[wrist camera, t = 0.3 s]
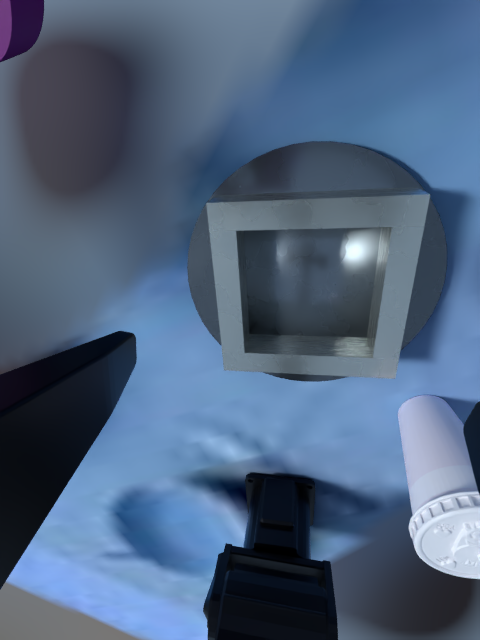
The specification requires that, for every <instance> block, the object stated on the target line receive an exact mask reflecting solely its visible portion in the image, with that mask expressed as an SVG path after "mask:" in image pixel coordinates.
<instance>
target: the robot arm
mask: <svg viewBox="0 0 480 640" xmlns="http://www.w3.org/2000/svg"><path fill="white" fill-rule="evenodd" d="M136 358H137V357H136V337H135V335H134V334H133V333H129V332H124V331H118V332H115V333H112V334H109V335H107V336H104V337H101V338H99V339H96V340H93V341H90V342H88V343H85V344H82V345H79V346H77V347H74V348H71V349H68V350H66V351H63V352H60V353H58V354H55V355H52V356H49V357H47V358H44V359H41V360H38V361H36V362H33V363H30V364H27V365H25V366H22V367H19V368H16V369H14V370H11V371H8V372H6V373H3V374H0V589H1V588H2V586H3V584H4V583H5V581H6V580H7V578H8V577H9V575H10V574H11V572H12V570H13V569H14V567H15V566H16V564H17V562H18V561H19V559H20V558H21V556H22V555H23V553H24V551H25V550H26V548H27V547H28V545H29V544H30V542H31V540H32V539H33V537H34V536H35V534H36V533H37V531H38V529H39V528H40V526H41V525H42V523H43V521H44V520H45V518H46V517H47V515H48V514H49V512H50V510H51V509H52V507H53V506H54V504H55V503H56V501H57V499H58V498H59V496H60V495H61V493H62V491H63V490H64V488H65V487H66V485H67V484H68V482H69V480H70V479H71V477H72V476H73V474H74V473H75V471H76V469H77V468H78V466H79V465H80V463H81V462H82V460H83V458H84V457H85V455H86V454H87V452H88V450H89V449H90V447H91V446H92V444H93V443H94V441H95V439H96V438H97V436H98V435H99V433H100V432H101V430H102V428H103V427H104V425H105V424H106V422H107V421H108V419H109V417H110V416H111V414H112V412H113V410H114V408H115V406H116V404H117V402H118V400H119V398H120V396H121V394H122V392H123V390H124V388H125V386H126V384H127V382H128V380H129V378H130V375H131V373H132V371H133V369H134V367H135V364H136ZM463 433H464V438H465V442H466V446H467V450H468V454H469V458H470V462H471V466H472V470H473V474H474V478H475V482H476V485H477V489H478V492H479V495H480V402H478V403H477V404H476V405H475V407H474V409H473V410H472V412H471V414H470V415H469V417H468V419H467V420H466V422H465V424H464V427H463ZM245 483H246V494H247V506H248V520H247V527H246V534H245V541H244V548H242V547H236V546H232V544H226V545H225V549H224V552H223V553H220V554H219V555H218V560H217V564H216V569H215V574H214V577H213V580H212V583H211V586H210V589H209V592H208V594H207V597H206V600H205V603H204V608H203V612H204V614H205V616H206V618H207V620H208V622H207V627H208V640H338V629H337V614H336V605H335V597H334V589H333V581H332V572H331V564H330V561H324V560H323V561H317V560H311V554H310V526H311V525H313V516H314V500H315V482H314V481H312V480H306V479H296V478H286V477H277V476H267V475H257V474H247V475H246V479H245Z"/></svg>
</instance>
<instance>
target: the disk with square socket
mask: <svg viewBox="0 0 480 640" xmlns="http://www.w3.org/2000/svg"><path fill="white" fill-rule="evenodd" d="M187 268H188V280H189V286H190V291H191V295H192V299H193V301H194V304H195V307H196V310H197V312H198V314H199V316H200V318H201V320H202V322H203V323H204V325H205V326H206V328H207V329H208V331H209V332H210V333H211V335H212V336H213V337H214V338H215V339H216V340H217V342H218V343H219V344H220V345H221V346H222V354H223V364H224V370H229V371H249V372H263V373H266V374H269V375H273V376H276V377H280V378H284V379H289V380H297V381H328V380H336V379H340V378H345V377H349V376H350V377H370V378H390V379H395V377H396V371H397V366H398V361H399V356H400V351H401V350H402V349H403V348H404V347H405V346H406V345H407V344H408V343H409V342H411V341H412V340H413V339H414V338H415V336H416V335H417V334H418V333H419V332H420V330H421V329H422V328H423V327H424V325H425V324H426V322H427V321H428V319H429V318H430V316H431V315H432V313H433V311H434V309H435V307H436V305H437V302H438V300H439V298H440V295H441V292H442V288H443V285H444V281H445V275H446V269H447V245H446V239H445V232H444V229H443V226H442V223H441V219H440V216H439V214H438V212H437V210H436V208H435V206H434V204H433V202H432V200H431V198H430V194H429V193H427V192H425V190H424V189H423V188H422V186H421V185H420V184H419V183H418V182H417V181H416V180H415V179H414V178H413V177H412V176H411V175H410V174H409V173H408V172H407V171H406V170H405V169H403V168H402V167H400V166H399V165H397V164H396V163H395V162H393V161H392V160H390V159H388V158H386V157H384V156H382V155H380V154H378V153H376V152H374V151H372V150H368V149H365V148H362V147H359V146H355V145H352V144H346V143H339V142H332V141H312V142H305V143H298V144H292V145H288V146H285V147H282V148H278V149H275V150H272V151H270V152H268V153H266V154H263V155H261V156H259V157H257V158H255V159H253V160H252V161H250V162H249V163H247V164H245V165H244V166H242V167H241V168H239V169H238V170H237V171H236V172H234V173H233V174H232V175H231V176H230V177H228V178H227V179H226V180H225V181H224V182H223V183H222V184H221V185H220V187H219V188H218V189H217V190H216V191H215V192H214V193H213V195H212V196H211V198H210V199H209V200H208V202H207V203H206V205H205V206H204V208H203V210H202V212H201V214H200V216H199V218H198V220H197V222H196V225H195V228H194V231H193V234H192V237H191V241H190V246H189V251H188V267H187Z"/></svg>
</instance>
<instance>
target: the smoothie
mask: <svg viewBox="0 0 480 640" xmlns="http://www.w3.org/2000/svg"><path fill="white" fill-rule="evenodd" d="M398 420H399V426H400V433H401V440H402V447H403V454H404V460H405V467H406V474H407V481H408V488H409V494H410V502H411V508H412V514H413V516H412V517H411V519H410V524H409V531H410V536H411V538H412V540H413V543H414V547H415V550H416V552H417V554H418V555H419V556H420V558H421V559H422V560H423V561H424V562H426V563H427V564H428V565H430V566H432V567H433V568H435V569H437V570H440V571H442V572H444V573H448V574H451V575H454V576H459V577H465V578H476V579H480V495H479V492H478V489H477V485H476V482H475V478H474V474H473V470H472V466H471V462H470V458H469V454H468V450H467V446H466V442H465V438H464V433H463V427H464V424H463V423H462V422H461V420H460V419H459V418H458V416H457V415H456V414H455V412H454V411H453V410H452V408H451V407H450V406H449V404H448V403H447V402H446V401H445V400H443V399H441V398H439V397H436V396H432V395H421V396H416V397H413V398H411V399H409V400H407V401H406V402H404V403H403V404H402V405H401V407H400V409H399V411H398Z"/></svg>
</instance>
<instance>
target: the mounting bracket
mask: <svg viewBox="0 0 480 640" xmlns="http://www.w3.org/2000/svg"><path fill="white" fill-rule="evenodd" d="M43 15H44V0H0V62H2V61H5V60H7V59H10V58H12V57H15V56H17V55H20V54H22V53H24V52H26V51H28V50H29V49H30V48H31V47H32V46H33V45H34V44H35V42H36V40H37V38H38V36H39V34H40V31H41V27H42V22H43Z"/></svg>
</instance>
